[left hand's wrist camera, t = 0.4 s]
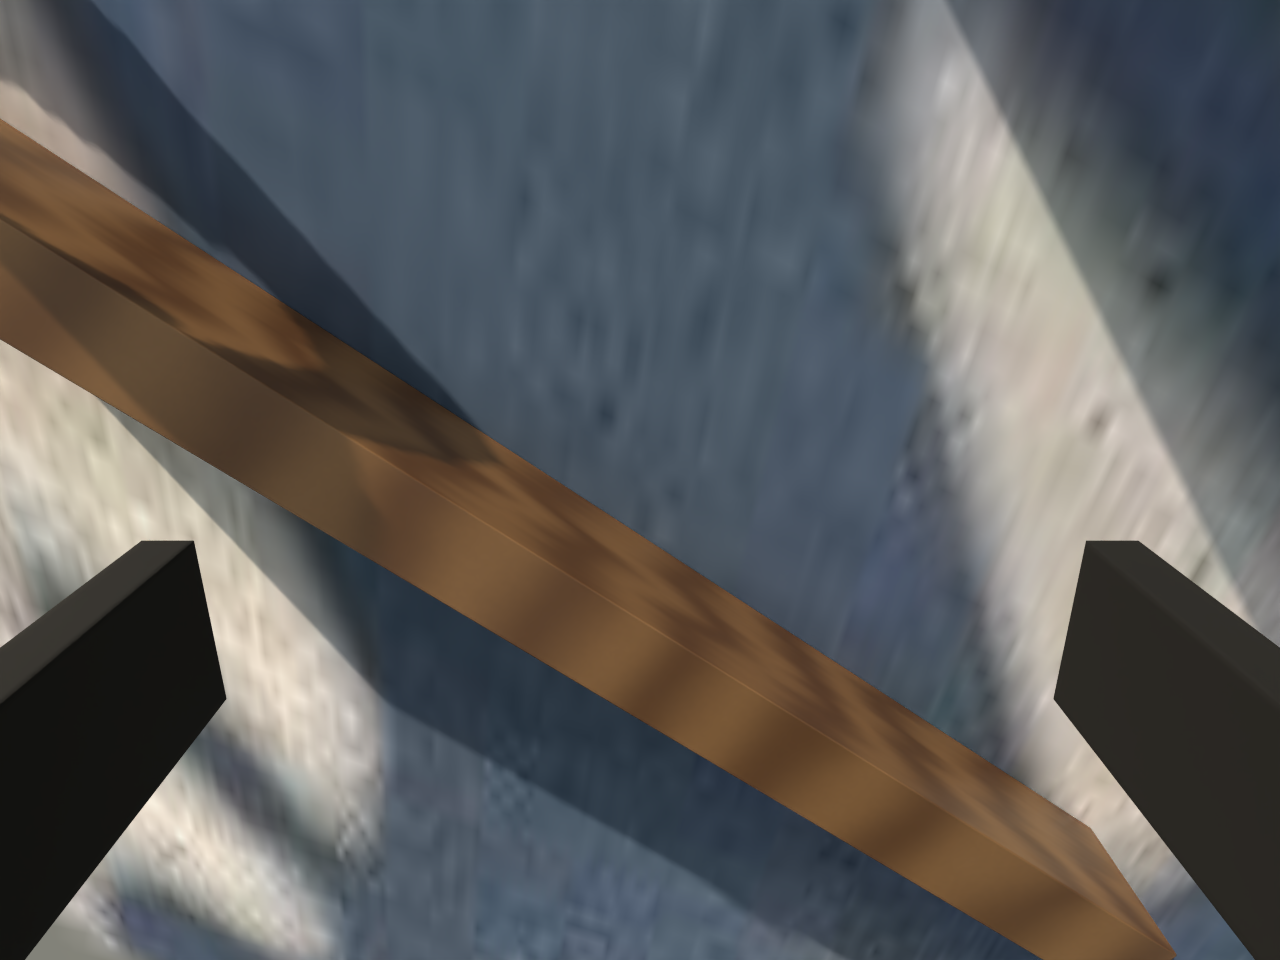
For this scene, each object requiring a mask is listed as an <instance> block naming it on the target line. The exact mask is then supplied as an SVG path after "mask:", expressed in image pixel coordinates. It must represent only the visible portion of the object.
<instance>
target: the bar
mask: <svg viewBox="0 0 1280 960" xmlns="http://www.w3.org/2000/svg"><path fill="white" fill-rule="evenodd" d="M0 339H1V340H2V341H4V342H6V343H7V344H9V345H11V346H12V347H14V348H16V349H17V350H19V351H21V352H22V353H24V354H26V355H28V356H29V357H31V358H33V359H34V360H36V361H38V362H39V363H41V364H43V365H44V366H46V367H48V368H49V369H51V370H53V371H54V372H56V373H58V374H59V375H61V376H63V377H64V378H66V379H68V380H70V381H71V382H73V383H75V384H76V385H78V386H80V387H81V388H83V389H85V390H86V391H88V392H90V393H91V394H93V395H95V396H96V397H98V398H100V399H101V400H103V401H105V402H107V403H108V404H110V405H112V406H113V407H115V408H117V409H118V410H120V411H122V412H123V413H125V414H127V415H128V416H130V417H132V418H133V419H135V420H137V421H138V422H140V423H142V424H143V425H145V426H147V427H149V428H150V429H152V430H154V431H155V432H157V433H159V434H160V435H162V436H164V437H165V438H167V439H169V440H170V441H172V442H174V443H175V444H177V445H179V446H180V447H182V448H184V449H185V450H187V451H189V452H191V453H192V454H194V455H196V456H197V457H199V458H201V459H202V460H204V461H206V462H207V463H209V464H211V465H212V466H214V467H216V468H217V469H219V470H221V471H222V472H224V473H226V474H227V475H229V476H231V477H233V478H234V479H236V480H238V481H239V482H241V483H243V484H244V485H246V486H248V487H249V488H251V489H253V490H254V491H256V492H258V493H259V494H261V495H263V496H264V497H266V498H268V499H270V500H271V501H273V502H275V503H276V504H278V505H280V506H281V507H283V508H285V509H286V510H288V511H290V512H291V513H293V514H295V515H296V516H298V517H300V518H301V519H303V520H305V521H306V522H308V523H310V524H312V525H313V526H315V527H317V528H318V529H320V530H322V531H323V532H325V533H327V534H328V535H330V536H332V537H333V538H335V539H337V540H338V541H340V542H342V543H343V544H345V545H347V546H348V547H350V548H352V549H354V550H355V551H357V552H359V553H360V554H362V555H364V556H365V557H367V558H369V559H370V560H372V561H374V562H375V563H377V564H379V565H380V566H382V567H384V568H385V569H387V570H389V571H391V572H392V573H394V574H396V575H397V576H399V577H401V578H402V579H404V580H406V581H407V582H409V583H411V584H412V585H414V586H416V587H417V588H419V589H421V590H422V591H424V592H426V593H427V594H429V595H431V596H433V597H434V598H436V599H438V600H439V601H441V602H443V603H444V604H446V605H448V606H449V607H451V608H453V609H454V610H456V611H458V612H459V613H461V614H463V615H464V616H466V617H468V618H469V619H471V620H473V621H475V622H476V623H478V624H480V625H481V626H483V627H485V628H486V629H488V630H490V631H491V632H493V633H495V634H496V635H498V636H500V637H501V638H503V639H505V640H506V641H508V642H510V643H512V644H513V645H515V646H517V647H518V648H520V649H522V650H523V651H525V652H527V653H528V654H530V655H532V656H533V657H535V658H537V659H538V660H540V661H542V662H543V663H545V664H547V665H548V666H550V667H552V668H554V669H555V670H557V671H559V672H560V673H562V674H564V675H565V676H567V677H569V678H570V679H572V680H574V681H575V682H577V683H579V684H580V685H582V686H584V687H585V688H587V689H589V690H590V691H592V692H594V693H596V694H597V695H599V696H601V697H602V698H604V699H606V700H607V701H609V702H611V703H612V704H614V705H616V706H617V707H619V708H621V709H622V710H624V711H626V712H627V713H629V714H631V715H633V716H634V717H636V718H638V719H639V720H641V721H643V722H644V723H646V724H648V725H649V726H651V727H653V728H654V729H656V730H658V731H659V732H661V733H663V734H664V735H666V736H668V737H669V738H671V739H673V740H675V741H676V742H678V743H680V744H681V745H683V746H685V747H686V748H688V749H690V750H691V751H693V752H695V753H696V754H698V755H700V756H701V757H703V758H705V759H706V760H708V761H710V762H711V763H713V764H715V765H717V766H718V767H720V768H722V769H723V770H725V771H727V772H728V773H730V774H732V775H733V776H735V777H737V778H738V779H740V780H742V781H743V782H745V783H747V784H748V785H750V786H752V787H754V788H755V789H757V790H759V791H760V792H762V793H764V794H765V795H767V796H769V797H770V798H772V799H774V800H775V801H777V802H779V803H780V804H782V805H784V806H785V807H787V808H789V809H790V810H792V811H794V812H796V813H797V814H799V815H801V816H802V817H804V818H806V819H807V820H809V821H811V822H812V823H814V824H816V825H817V826H819V827H821V828H822V829H824V830H826V831H827V832H829V833H831V834H832V835H834V836H836V837H838V838H839V839H841V840H843V841H844V842H846V843H848V844H849V845H851V846H853V847H854V848H856V849H858V850H859V851H861V852H863V853H864V854H866V855H868V856H869V857H871V858H873V859H875V860H876V861H878V862H880V863H881V864H883V865H885V866H886V867H888V868H890V869H891V870H893V871H895V872H896V873H898V874H900V875H901V876H903V877H905V878H906V879H908V880H910V881H911V882H913V883H915V884H917V885H918V886H920V887H922V888H923V889H925V890H927V891H928V892H930V893H932V894H933V895H935V896H937V897H938V898H940V899H942V900H943V901H945V902H947V903H948V904H950V905H952V906H953V907H955V908H957V909H959V910H960V911H962V912H964V913H965V914H967V915H969V916H970V917H972V918H974V919H975V920H977V921H979V922H980V923H982V924H984V925H985V926H987V927H989V928H990V929H992V930H994V931H996V932H997V933H999V934H1001V935H1002V936H1004V937H1006V938H1007V939H1009V940H1011V941H1012V942H1014V943H1016V944H1017V945H1019V946H1021V947H1022V948H1024V949H1026V950H1027V951H1029V952H1031V953H1032V954H1034V955H1036V956H1038V957H1039V958H1041V959H1043V960H1172V959H1173V958H1174V957H1176V953H1175V952H1174V950H1173V949H1172V947H1171V946H1170V944H1169V943H1168V941H1167V940H1166V938H1165V937H1164V935H1163V934H1162V932H1161V931H1160V930H1159V928H1158V927H1157V925H1156V924H1155V922H1154V921H1153V919H1152V918H1151V916H1150V915H1149V913H1148V912H1147V910H1146V909H1145V907H1144V906H1143V904H1142V903H1141V902H1140V900H1139V899H1138V897H1137V896H1136V894H1135V893H1134V891H1133V890H1132V888H1131V887H1130V885H1129V884H1128V882H1127V881H1126V879H1125V878H1124V876H1123V875H1122V874H1121V872H1120V871H1119V869H1118V868H1117V866H1116V865H1115V863H1114V862H1113V860H1112V859H1111V857H1110V856H1109V854H1108V853H1107V851H1106V850H1105V848H1104V847H1103V846H1102V844H1101V843H1100V841H1099V840H1098V838H1097V837H1096V835H1095V834H1094V832H1093V831H1092V829H1091V828H1089V827H1088V826H1086V825H1085V824H1083V823H1082V822H1080V821H1079V820H1077V819H1075V818H1074V817H1072V816H1071V815H1069V814H1068V813H1066V812H1065V811H1063V810H1062V809H1060V808H1059V807H1057V806H1055V805H1054V804H1052V803H1051V802H1049V801H1048V800H1046V799H1045V798H1043V797H1042V796H1040V795H1039V794H1037V793H1035V792H1034V791H1032V790H1031V789H1029V788H1028V787H1026V786H1025V785H1023V784H1022V783H1020V782H1019V781H1017V780H1016V779H1014V778H1012V777H1011V776H1009V775H1008V774H1006V773H1005V772H1003V771H1002V770H1000V769H999V768H997V767H996V766H994V765H992V764H991V763H989V762H988V761H986V760H985V759H983V758H982V757H980V756H979V755H977V754H976V753H974V752H972V751H971V750H969V749H968V748H966V747H965V746H963V745H962V744H960V743H959V742H957V741H956V740H954V739H953V738H951V737H949V736H948V735H946V734H945V733H943V732H942V731H940V730H939V729H937V728H936V727H934V726H933V725H931V724H929V723H928V722H926V721H925V720H923V719H922V718H920V717H919V716H917V715H916V714H914V713H913V712H911V711H909V710H908V709H906V708H905V707H903V706H902V705H900V704H899V703H897V702H896V701H894V700H893V699H891V698H889V697H888V696H886V695H885V694H883V693H882V692H880V691H879V690H877V689H876V688H874V687H873V686H871V685H870V684H868V683H866V682H865V681H863V680H862V679H860V678H859V677H857V676H856V675H854V674H853V673H851V672H850V671H848V670H846V669H845V668H843V667H842V666H840V665H839V664H837V663H836V662H834V661H833V660H831V659H830V658H828V657H826V656H825V655H823V654H822V653H820V652H819V651H817V650H816V649H814V648H813V647H811V646H810V645H808V644H806V643H805V642H803V641H802V640H800V639H799V638H797V637H796V636H794V635H793V634H791V633H790V632H788V631H787V630H785V629H783V628H782V627H780V626H779V625H777V624H776V623H774V622H773V621H771V620H770V619H768V618H767V617H765V616H763V615H762V614H760V613H759V612H757V611H756V610H754V609H753V608H751V607H750V606H748V605H747V604H745V603H743V602H742V601H740V600H739V599H737V598H736V597H734V596H733V595H731V594H730V593H728V592H727V591H725V590H723V589H722V588H720V587H719V586H717V585H716V584H714V583H713V582H711V581H710V580H708V579H707V578H705V577H704V576H702V575H700V574H699V573H697V572H696V571H694V570H693V569H691V568H690V567H688V566H687V565H685V564H684V563H682V562H680V561H679V560H677V559H676V558H674V557H673V556H671V555H670V554H668V553H667V552H665V551H664V550H662V549H660V548H659V547H657V546H656V545H654V544H653V543H651V542H650V541H648V540H647V539H645V538H644V537H642V536H641V535H639V534H637V533H636V532H634V531H633V530H631V529H630V528H628V527H627V526H625V525H624V524H622V523H621V522H619V521H617V520H616V519H614V518H613V517H611V516H610V515H608V514H607V513H605V512H604V511H602V510H601V509H599V508H597V507H596V506H594V505H593V504H591V503H590V502H588V501H587V500H585V499H584V498H582V497H581V496H579V495H577V494H576V493H574V492H573V491H571V490H570V489H568V488H567V487H565V486H564V485H562V484H561V483H559V482H558V481H556V480H554V479H553V478H551V477H550V476H548V475H547V474H545V473H544V472H542V471H541V470H539V469H538V468H536V467H534V466H533V465H531V464H530V463H528V462H527V461H525V460H524V459H522V458H521V457H519V456H518V455H516V454H514V453H513V452H511V451H510V450H508V449H507V448H505V447H504V446H502V445H501V444H499V443H498V442H496V441H494V440H493V439H491V438H490V437H488V436H487V435H485V434H484V433H482V432H481V431H479V430H478V429H476V428H475V427H473V426H471V425H470V424H468V423H467V422H465V421H464V420H462V419H461V418H459V417H458V416H456V415H455V414H453V413H451V412H450V411H448V410H447V409H445V408H444V407H442V406H441V405H439V404H438V403H436V402H435V401H433V400H431V399H430V398H428V397H427V396H425V395H424V394H422V393H421V392H419V391H418V390H416V389H415V388H413V387H412V386H410V385H408V384H407V383H405V382H404V381H402V380H401V379H399V378H398V377H396V376H395V375H393V374H392V373H390V372H388V371H387V370H385V369H384V368H382V367H381V366H379V365H378V364H376V363H375V362H373V361H372V360H370V359H368V358H367V357H365V356H364V355H362V354H361V353H359V352H358V351H356V350H355V349H353V348H352V347H350V346H348V345H347V344H345V343H344V342H342V341H341V340H339V339H338V338H336V337H335V336H333V335H332V334H330V333H329V332H327V331H325V330H324V329H322V328H321V327H319V326H318V325H316V324H315V323H313V322H312V321H310V320H309V319H307V318H305V317H304V316H302V315H301V314H299V313H298V312H296V311H295V310H293V309H292V308H290V307H289V306H287V305H285V304H284V303H282V302H281V301H279V300H278V299H276V298H275V297H273V296H272V295H270V294H269V293H267V292H265V291H264V290H262V289H261V288H259V287H258V286H256V285H255V284H253V283H252V282H250V281H249V280H247V279H246V278H244V277H242V276H241V275H239V274H238V273H236V272H235V271H233V270H232V269H230V268H229V267H227V266H226V265H224V264H222V263H221V262H219V261H218V260H216V259H215V258H213V257H212V256H210V255H209V254H207V253H206V252H204V251H202V250H201V249H199V248H198V247H196V246H195V245H193V244H192V243H190V242H189V241H187V240H186V239H184V238H183V237H181V236H179V235H178V234H176V233H175V232H173V231H172V230H170V229H169V228H167V227H166V226H164V225H163V224H161V223H159V222H158V221H156V220H155V219H153V218H152V217H150V216H149V215H147V214H146V213H144V212H143V211H141V210H139V209H138V208H136V207H135V206H133V205H132V204H130V203H129V202H127V201H126V200H124V199H123V198H121V197H119V196H118V195H116V194H115V193H113V192H112V191H110V190H109V189H107V188H106V187H104V186H103V185H101V184H100V183H98V182H96V181H95V180H93V179H92V178H90V177H89V176H87V175H86V174H84V173H83V172H81V171H80V170H78V169H76V168H75V167H73V166H72V165H70V164H69V163H67V162H66V161H64V160H63V159H61V158H60V157H58V156H56V155H55V154H53V153H52V152H50V151H49V150H47V149H46V148H44V147H43V146H41V145H40V144H38V143H36V142H35V141H33V140H32V139H30V138H29V137H27V136H26V135H24V134H23V133H21V132H20V131H18V130H17V129H15V128H13V127H12V126H10V125H9V124H7V123H6V122H4V121H3V120H1V119H0Z"/></svg>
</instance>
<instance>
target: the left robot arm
mask: <svg viewBox="0 0 1280 960" xmlns="http://www.w3.org/2000/svg"><path fill="white" fill-rule="evenodd" d="M225 700H226V694H225V689H224V684H223V680H222V675H221V670H220V665H219V660H218V655H217V651H216V646H215V641H214V636H213V631H212V626H211V622H210V617H209V612H208V607H207V602H206V597H205V593H204V588H203V583H202V578H201V573H200V568H199V564H198V559H197V554H196V549H195V544H194V541H141V542H139V543H138V544H137V545H135V546H134V547H133V548H132V549H130V550H129V551H128V552H126V553H125V554H124V555H122V556H121V557H120V558H118V559H117V560H116V561H114V562H113V563H112V564H110V565H109V566H108V567H106V568H105V569H104V570H102V571H101V572H100V573H98V574H97V575H96V576H95V577H93V578H92V579H91V580H89V581H88V582H87V583H85V584H84V585H83V586H81V587H80V588H79V589H77V590H76V591H75V592H73V593H72V594H71V595H69V596H68V597H67V598H65V599H64V600H63V601H61V602H60V603H59V604H57V605H56V606H55V607H54V608H52V609H51V610H50V611H48V612H47V613H46V614H44V615H43V616H42V617H40V618H39V619H38V620H36V621H35V622H34V623H32V624H31V625H30V626H28V627H27V628H26V629H24V630H23V631H22V632H20V633H19V634H18V635H17V636H15V637H14V638H13V639H11V640H10V641H9V642H7V643H6V644H5V645H3V646H2V647H1V648H0V960H25V959H26V958H27V956H28V955H29V954H30V952H31V951H32V950H33V948H34V947H35V946H36V945H37V943H38V942H39V941H40V940H41V938H42V937H43V936H44V934H45V933H46V932H47V930H48V929H49V928H50V927H51V925H52V924H53V923H54V921H55V920H56V919H57V918H58V916H59V915H60V914H61V912H62V911H63V910H64V908H65V907H66V906H67V905H68V903H69V902H70V901H71V899H72V898H73V897H74V896H75V894H76V893H77V892H78V890H79V889H80V888H81V886H82V885H83V884H84V883H85V881H86V880H87V879H88V877H89V876H90V875H91V874H92V872H93V871H94V870H95V868H96V867H97V866H98V864H99V863H100V862H101V861H102V859H103V858H104V857H105V855H106V854H107V853H108V852H109V850H110V849H111V848H112V846H113V845H114V844H115V842H116V841H117V840H118V839H119V837H120V836H121V835H122V833H123V832H124V831H125V830H126V828H127V827H128V826H129V824H130V823H131V822H132V820H133V819H134V818H135V817H136V815H137V814H138V813H139V811H140V810H141V809H142V808H143V806H144V805H145V804H146V802H147V801H148V800H149V798H150V797H151V796H152V795H153V793H154V792H155V791H156V789H157V788H158V787H159V786H160V784H161V783H162V782H163V780H164V779H165V778H166V776H167V775H168V774H169V773H170V771H171V770H172V769H173V767H174V766H175V765H176V764H177V762H178V761H179V760H180V758H181V757H182V756H183V754H184V753H185V752H186V751H187V749H188V748H189V747H190V745H191V744H192V743H193V742H194V740H195V739H196V738H197V736H198V735H199V734H200V732H201V731H202V730H203V729H204V727H205V726H206V725H207V723H208V722H209V721H210V720H211V718H212V717H213V716H214V714H215V713H216V712H217V710H218V709H219V708H220V707H221V705H222V704H223V703H224V701H225ZM1054 700H1055V701H1056V703H1057V704H1058V705H1059V707H1060V708H1061V709H1062V710H1063V712H1064V713H1065V714H1066V716H1067V717H1068V718H1069V720H1070V721H1071V722H1072V723H1073V725H1074V726H1075V727H1076V729H1077V730H1078V731H1079V732H1080V734H1081V735H1082V736H1083V738H1084V739H1085V740H1086V742H1087V743H1088V744H1089V745H1090V747H1091V748H1092V749H1093V751H1094V752H1095V753H1096V754H1097V756H1098V757H1099V758H1100V760H1101V761H1102V762H1103V764H1104V765H1105V766H1106V767H1107V769H1108V770H1109V771H1110V773H1111V774H1112V775H1113V776H1114V778H1115V779H1116V780H1117V782H1118V783H1119V784H1120V786H1121V787H1122V788H1123V789H1124V791H1125V792H1126V793H1127V795H1128V796H1129V797H1130V798H1131V800H1132V801H1133V802H1134V804H1135V805H1136V806H1137V808H1138V809H1139V810H1140V811H1141V813H1142V814H1143V815H1144V817H1145V818H1146V819H1147V820H1148V822H1149V823H1150V824H1151V826H1152V827H1153V828H1154V830H1155V831H1156V832H1157V833H1158V835H1159V836H1160V837H1161V839H1162V840H1163V841H1164V842H1165V844H1166V845H1167V846H1168V848H1169V849H1170V850H1171V852H1172V853H1173V854H1174V855H1175V857H1176V858H1177V859H1178V861H1179V862H1180V863H1181V864H1182V866H1183V867H1184V868H1185V870H1186V871H1187V872H1188V874H1189V875H1190V876H1191V877H1192V879H1193V880H1194V881H1195V883H1196V884H1197V885H1198V886H1199V888H1200V889H1201V890H1202V892H1203V893H1204V894H1205V896H1206V897H1207V898H1208V899H1209V901H1210V902H1211V903H1212V905H1213V906H1214V907H1215V908H1216V910H1217V911H1218V912H1219V914H1220V915H1221V916H1222V918H1223V919H1224V920H1225V921H1226V923H1227V924H1228V925H1229V927H1230V928H1231V929H1232V930H1233V932H1234V933H1235V934H1236V936H1237V937H1238V938H1239V940H1240V941H1241V942H1242V943H1243V945H1244V946H1245V947H1246V949H1247V950H1248V951H1249V952H1250V954H1251V955H1252V956H1253V958H1254V959H1255V960H1280V648H1279V647H1278V646H1277V645H1275V644H1274V643H1273V642H1271V641H1270V640H1269V639H1267V638H1266V637H1265V636H1263V635H1262V634H1261V633H1260V632H1258V631H1257V630H1256V629H1254V628H1253V627H1252V626H1250V625H1249V624H1248V623H1246V622H1245V621H1244V620H1242V619H1241V618H1240V617H1238V616H1237V615H1236V614H1234V613H1233V612H1232V611H1230V610H1229V609H1228V608H1226V607H1225V606H1224V605H1223V604H1221V603H1220V602H1219V601H1217V600H1216V599H1215V598H1213V597H1212V596H1211V595H1209V594H1208V593H1207V592H1205V591H1204V590H1203V589H1201V588H1200V587H1199V586H1197V585H1196V584H1195V583H1193V582H1192V581H1191V580H1189V579H1188V578H1187V577H1185V576H1184V575H1183V574H1182V573H1180V572H1179V571H1178V570H1176V569H1175V568H1174V567H1172V566H1171V565H1170V564H1168V563H1167V562H1166V561H1164V560H1163V559H1162V558H1160V557H1159V556H1158V555H1156V554H1155V553H1154V552H1152V551H1151V550H1150V549H1148V548H1147V547H1146V546H1145V545H1143V544H1142V543H1141V542H1139V541H1086V544H1085V549H1084V554H1083V559H1082V564H1081V568H1080V573H1079V578H1078V583H1077V588H1076V593H1075V597H1074V602H1073V607H1072V612H1071V617H1070V622H1069V626H1068V631H1067V636H1066V641H1065V646H1064V651H1063V655H1062V660H1061V665H1060V670H1059V675H1058V680H1057V684H1056V689H1055V694H1054Z"/></svg>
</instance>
